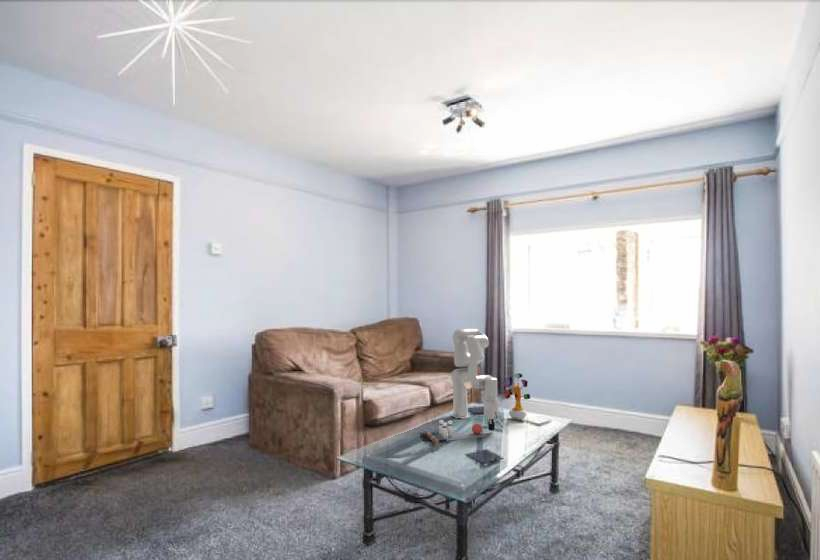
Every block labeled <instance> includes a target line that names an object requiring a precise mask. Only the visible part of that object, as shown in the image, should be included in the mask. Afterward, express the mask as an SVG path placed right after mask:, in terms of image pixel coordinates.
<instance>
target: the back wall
mask: <svg viewBox="0 0 820 560" xmlns="http://www.w3.org/2000/svg"><path fill="white" fill-rule="evenodd" d="M424 433H425V434H427V435H428V436H429V437H430V439H431V440H432V441H431V440H430V439H429V440H430V441H431V442H432V443H433V444H434V446H439V443H440V442H439V440H438V439H437V438H436V437H435V436H433V435H434V434H432V433H431V432H430V431H429V430H428V429H423V434H424ZM425 434H424V435H425Z"/></svg>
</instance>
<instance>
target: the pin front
mask: <svg viewBox="0 0 820 560" xmlns="http://www.w3.org/2000/svg"><path fill="white" fill-rule="evenodd" d="M452 433H453V421H452V420H447V434H448V437H452Z"/></svg>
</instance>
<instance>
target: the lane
mask: <svg viewBox="0 0 820 560" xmlns="http://www.w3.org/2000/svg"><path fill="white" fill-rule="evenodd" d="M485 437H487V438H488V435H487V434H485V433H484V432H483V431H482V432H481V433H480V434H478V435H477V434H474V433H473V431H472V430H471V431H461V432H460V431H459V432H452V437H448V439H447V440H446V441H445V442H449V441H450V442H451V441H457V440H467V439H475V438H485Z"/></svg>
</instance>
